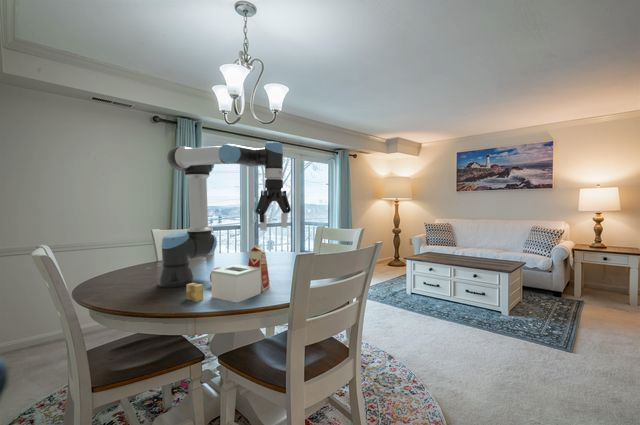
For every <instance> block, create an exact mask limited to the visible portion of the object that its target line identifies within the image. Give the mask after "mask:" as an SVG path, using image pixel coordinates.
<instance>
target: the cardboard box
mask: <svg viewBox="0 0 640 425" xmlns="http://www.w3.org/2000/svg"><path fill="white" fill-rule="evenodd" d="M185 287H186V300H189V301H193V302H200V301H202V300H204V284H201V283H197V282H193V283H190V284H186V286H185Z"/></svg>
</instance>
